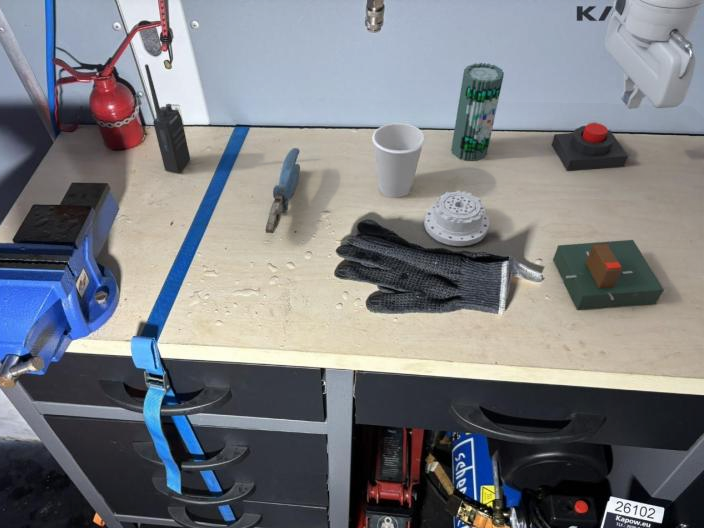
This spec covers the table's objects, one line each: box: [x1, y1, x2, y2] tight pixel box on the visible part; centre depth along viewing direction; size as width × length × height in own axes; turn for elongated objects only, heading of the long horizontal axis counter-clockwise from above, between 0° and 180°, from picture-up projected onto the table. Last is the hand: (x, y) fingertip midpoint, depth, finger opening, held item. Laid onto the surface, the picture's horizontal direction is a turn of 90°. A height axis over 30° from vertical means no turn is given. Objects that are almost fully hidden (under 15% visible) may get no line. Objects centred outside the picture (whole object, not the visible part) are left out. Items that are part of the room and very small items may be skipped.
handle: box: [586, 244, 622, 288], centre depth 82 cm, size 5×2×4 cm, turn 3°
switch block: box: [551, 125, 629, 172], centre depth 105 cm, size 10×8×4 cm
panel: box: [552, 239, 665, 311], centre depth 85 cm, size 12×11×3 cm
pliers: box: [265, 147, 301, 234], centre depth 99 cm, size 20×2×6 cm, turn 168°
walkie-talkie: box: [144, 63, 191, 174], centre depth 103 cm, size 5×3×20 cm
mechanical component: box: [423, 189, 490, 247], centre depth 94 cm, size 10×4×10 cm
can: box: [450, 62, 505, 162], centre depth 104 cm, size 6×6×15 cm
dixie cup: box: [371, 122, 426, 199], centre depth 100 cm, size 8×8×10 cm
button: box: [582, 122, 609, 143], centre depth 103 cm, size 4×4×2 cm
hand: (629, 103), depth 97 cm, fingers closed
